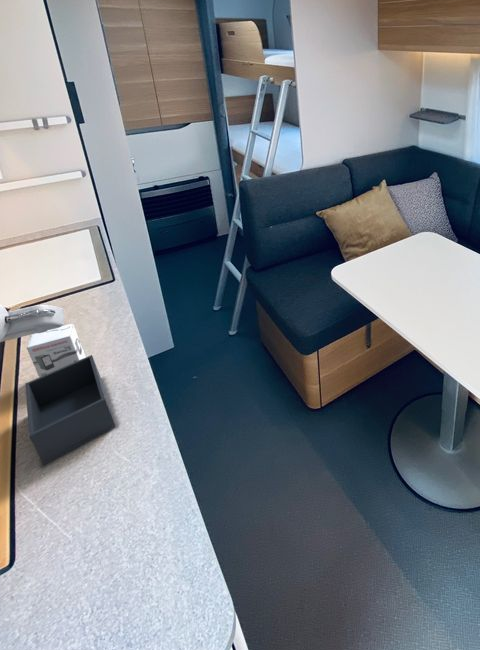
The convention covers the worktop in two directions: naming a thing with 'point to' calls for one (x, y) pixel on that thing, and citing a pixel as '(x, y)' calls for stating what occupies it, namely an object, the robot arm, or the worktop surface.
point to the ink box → (55, 349)
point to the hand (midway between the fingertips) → (14, 335)
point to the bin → (67, 409)
